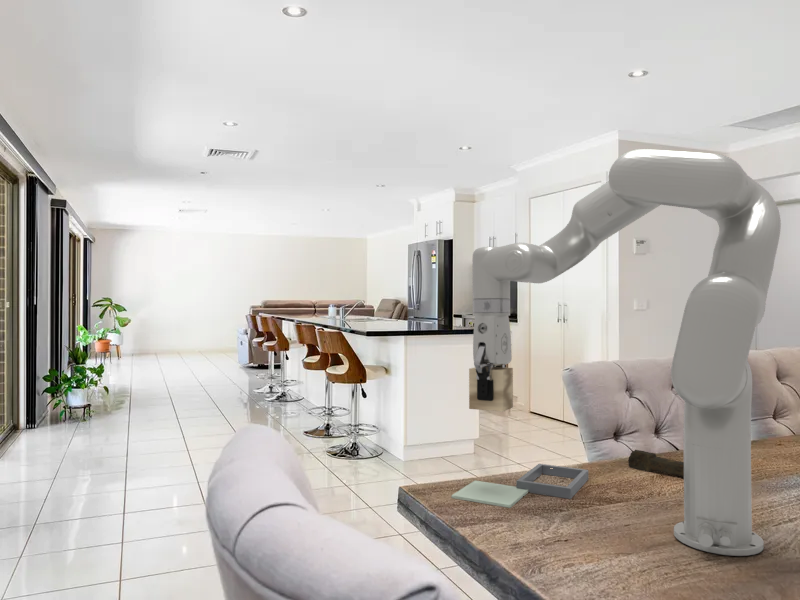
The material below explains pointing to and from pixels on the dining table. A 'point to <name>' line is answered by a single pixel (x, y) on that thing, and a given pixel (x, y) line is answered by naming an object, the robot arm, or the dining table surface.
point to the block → (500, 390)
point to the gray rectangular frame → (549, 489)
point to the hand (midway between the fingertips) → (491, 397)
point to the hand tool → (655, 463)
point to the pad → (490, 493)
